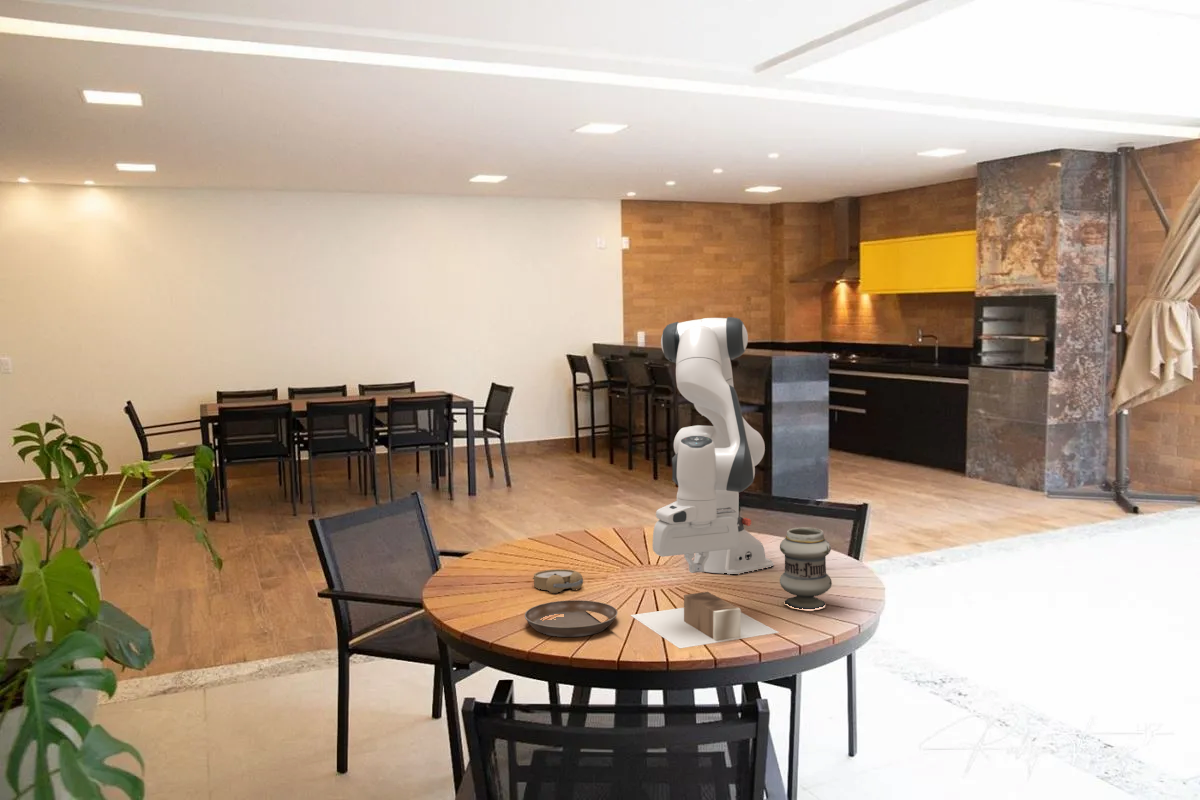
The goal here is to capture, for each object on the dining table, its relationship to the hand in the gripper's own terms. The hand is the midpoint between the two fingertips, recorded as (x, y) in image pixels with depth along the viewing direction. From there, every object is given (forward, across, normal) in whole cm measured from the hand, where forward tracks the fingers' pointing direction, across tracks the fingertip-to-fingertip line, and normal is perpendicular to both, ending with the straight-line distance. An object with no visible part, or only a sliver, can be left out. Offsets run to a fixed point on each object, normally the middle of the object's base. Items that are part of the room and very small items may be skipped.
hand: (696, 572), depth 205 cm
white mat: (+12, 0, +2) cm, 12 cm away
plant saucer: (+12, +26, -11) cm, 31 cm away
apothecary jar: (+12, -30, -2) cm, 33 cm away
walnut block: (+8, 0, -1) cm, 8 cm away
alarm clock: (+12, +18, -40) cm, 46 cm away
